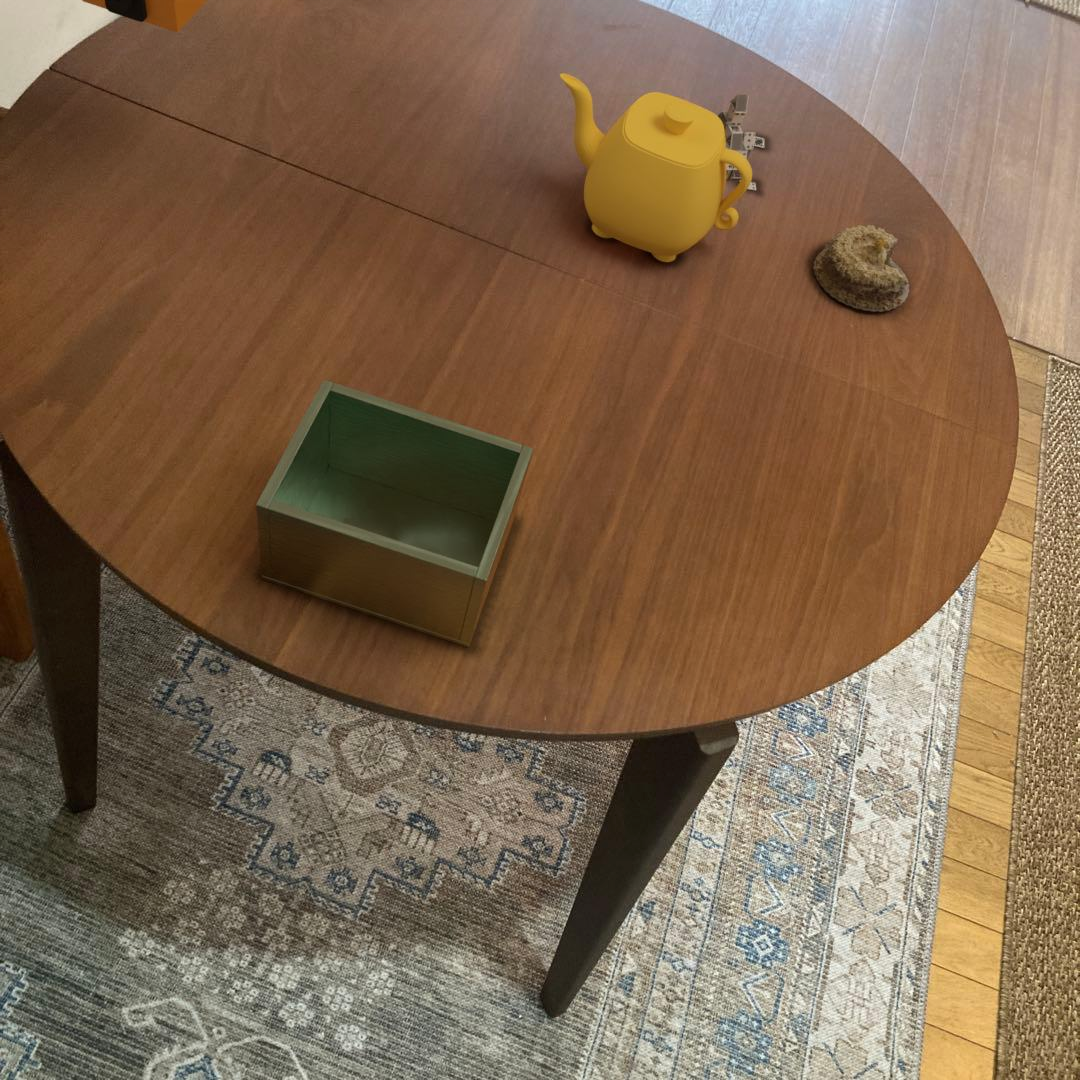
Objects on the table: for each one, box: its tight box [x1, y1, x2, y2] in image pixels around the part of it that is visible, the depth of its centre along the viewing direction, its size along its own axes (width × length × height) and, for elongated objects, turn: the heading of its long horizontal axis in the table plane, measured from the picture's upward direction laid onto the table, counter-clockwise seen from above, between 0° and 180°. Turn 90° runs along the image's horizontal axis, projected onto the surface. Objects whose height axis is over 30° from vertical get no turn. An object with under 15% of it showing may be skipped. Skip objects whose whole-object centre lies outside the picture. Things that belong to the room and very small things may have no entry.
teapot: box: [559, 72, 753, 263], centre depth 98 cm, size 14×20×13 cm
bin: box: [255, 378, 534, 648], centre depth 74 cm, size 16×12×10 cm
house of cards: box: [717, 93, 765, 191], centre depth 108 cm, size 9×9×8 cm
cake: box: [812, 224, 911, 313], centre depth 102 cm, size 10×10×5 cm
